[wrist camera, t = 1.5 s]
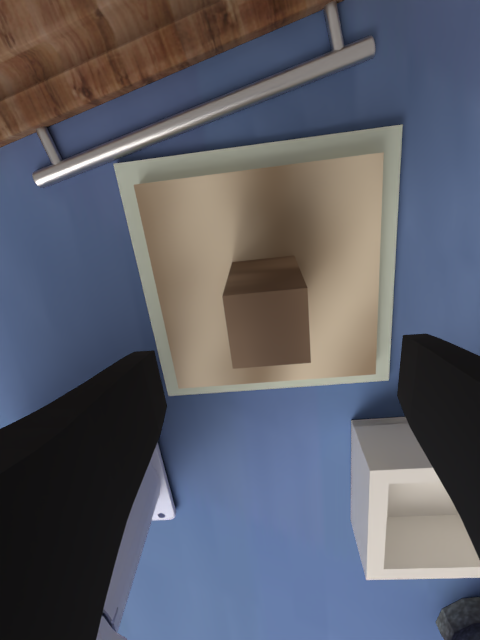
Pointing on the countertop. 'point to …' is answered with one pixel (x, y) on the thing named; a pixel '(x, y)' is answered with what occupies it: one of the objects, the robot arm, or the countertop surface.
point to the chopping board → (139, 63)
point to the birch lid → (268, 270)
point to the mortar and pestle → (460, 620)
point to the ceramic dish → (403, 508)
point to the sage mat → (262, 158)
